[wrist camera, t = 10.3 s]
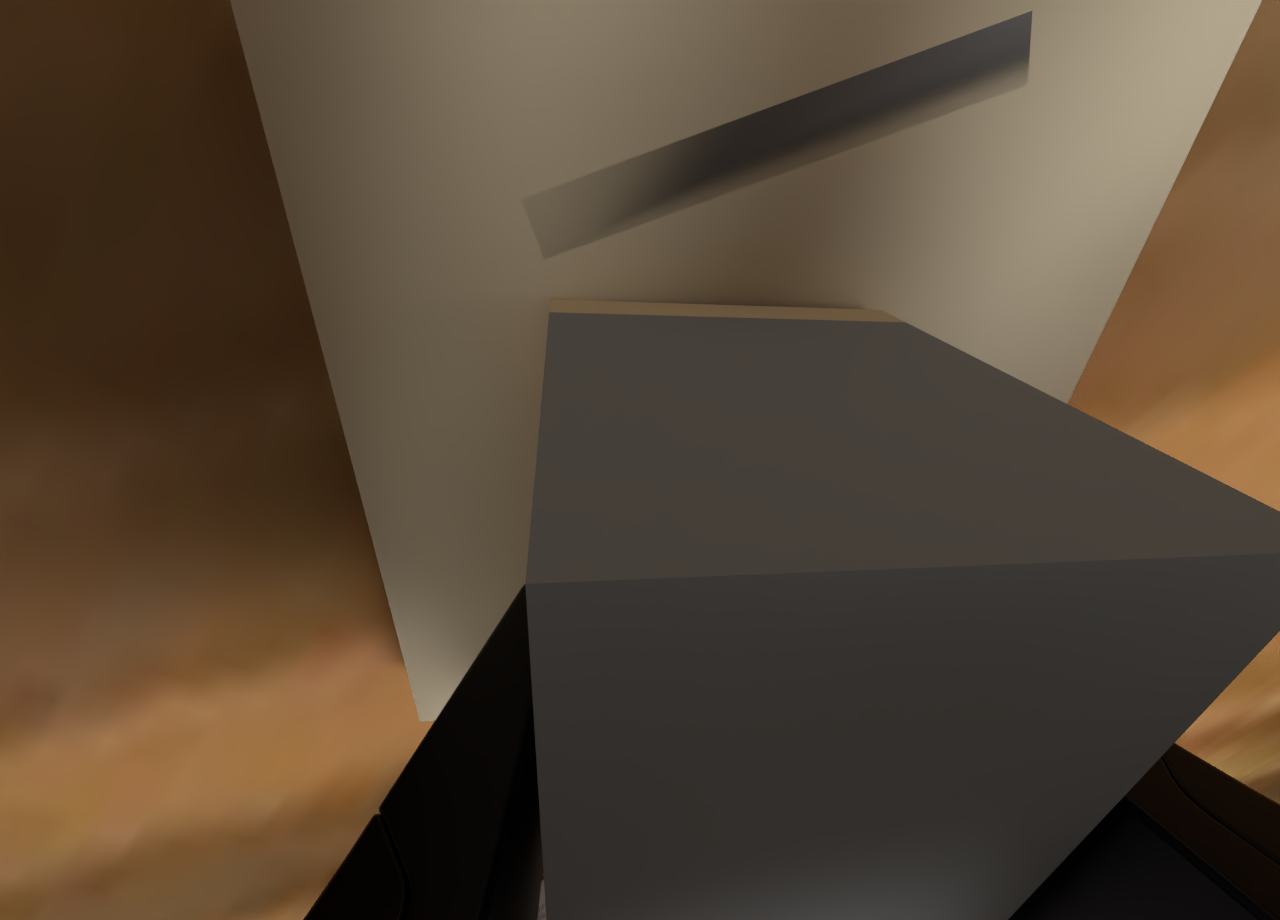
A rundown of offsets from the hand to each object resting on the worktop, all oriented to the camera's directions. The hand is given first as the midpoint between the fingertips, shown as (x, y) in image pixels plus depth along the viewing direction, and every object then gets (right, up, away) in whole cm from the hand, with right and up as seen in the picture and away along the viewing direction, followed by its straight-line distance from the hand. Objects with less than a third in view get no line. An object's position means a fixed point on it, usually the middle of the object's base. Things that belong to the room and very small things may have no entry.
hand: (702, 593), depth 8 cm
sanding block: (0, +1, +1) cm, 1 cm away
